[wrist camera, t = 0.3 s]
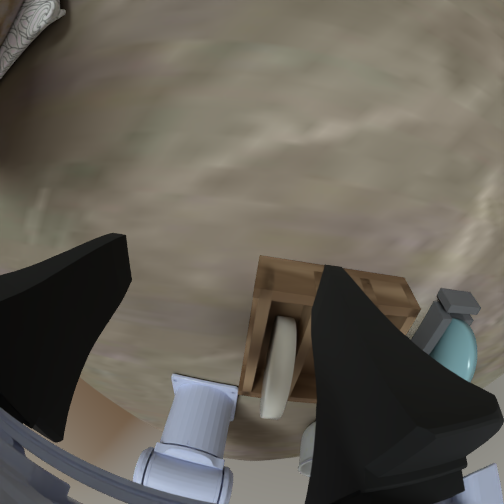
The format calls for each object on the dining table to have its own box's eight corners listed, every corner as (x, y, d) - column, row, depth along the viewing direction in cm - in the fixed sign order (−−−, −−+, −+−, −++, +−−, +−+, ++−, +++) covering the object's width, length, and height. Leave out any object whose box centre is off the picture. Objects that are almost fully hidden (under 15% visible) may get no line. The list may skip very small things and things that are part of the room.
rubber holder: (425, 361, 25) (431, 377, 23) (396, 361, 26) (401, 378, 24) (470, 292, 20) (481, 307, 18) (440, 288, 21) (451, 305, 18)
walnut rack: (352, 374, 27) (357, 404, 24) (242, 362, 27) (237, 394, 24) (404, 277, 20) (420, 309, 17) (259, 255, 21) (254, 287, 17)
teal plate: (419, 354, 25) (436, 416, 18) (411, 354, 25) (427, 417, 19) (456, 300, 21) (488, 366, 14) (448, 299, 21) (480, 367, 14)
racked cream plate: (277, 360, 25) (271, 435, 18) (264, 358, 25) (256, 433, 18) (295, 296, 21) (296, 383, 14) (280, 294, 21) (275, 381, 14)
